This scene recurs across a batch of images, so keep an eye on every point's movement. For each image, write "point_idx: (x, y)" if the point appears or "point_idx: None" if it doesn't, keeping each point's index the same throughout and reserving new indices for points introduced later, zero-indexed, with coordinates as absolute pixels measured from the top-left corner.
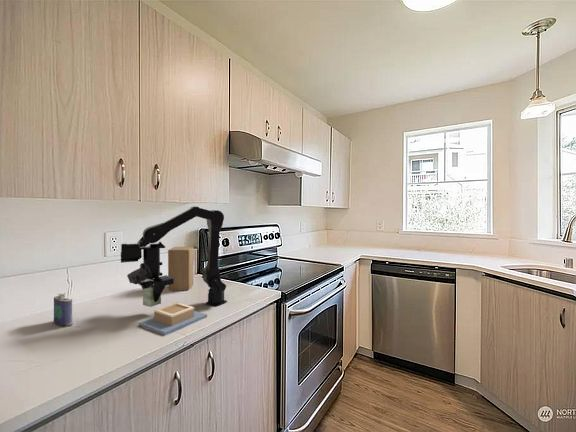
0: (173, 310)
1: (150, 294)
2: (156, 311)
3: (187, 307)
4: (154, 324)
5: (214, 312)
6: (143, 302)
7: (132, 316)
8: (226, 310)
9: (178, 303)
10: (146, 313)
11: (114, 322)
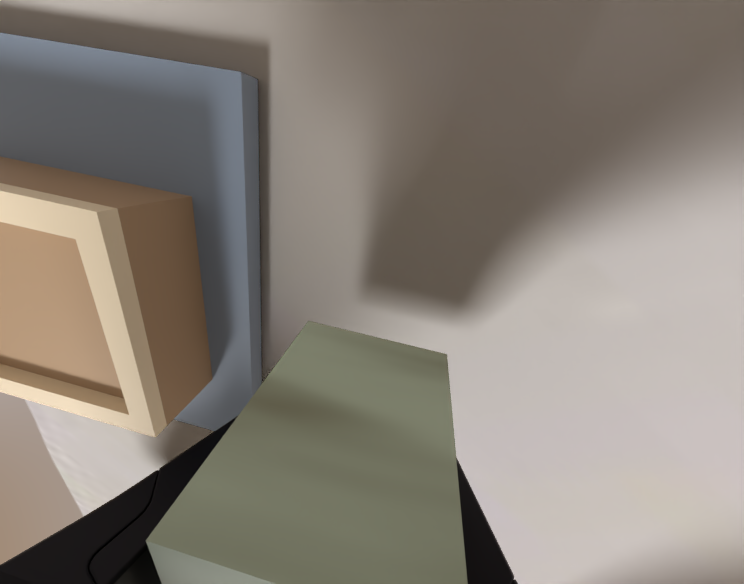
0: (32, 301)
1: (213, 460)
2: (68, 202)
3: (9, 373)
4: (96, 113)
5: (98, 425)
6: (436, 372)
7: (506, 235)
8: (84, 451)
9: (120, 420)
10: (432, 326)
11: (596, 6)
